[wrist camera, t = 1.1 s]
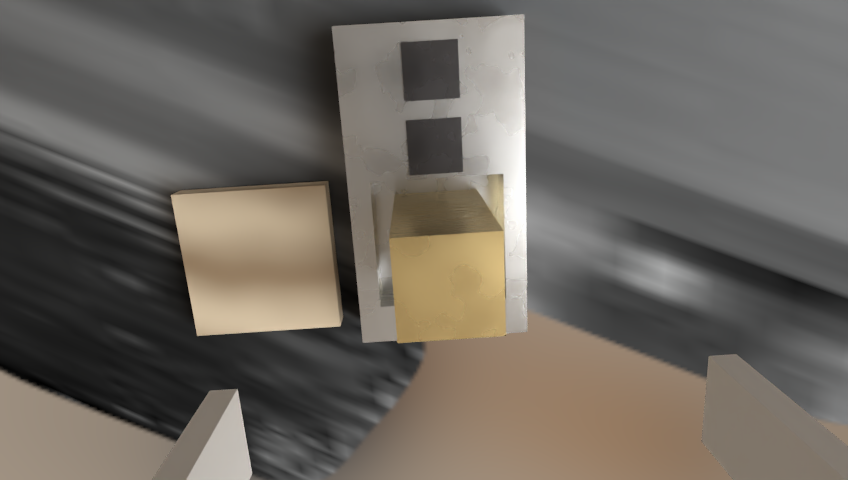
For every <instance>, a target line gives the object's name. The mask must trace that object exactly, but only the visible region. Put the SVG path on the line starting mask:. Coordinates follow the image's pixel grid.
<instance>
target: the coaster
mask: <svg viewBox="0 0 848 480" xmlns="http://www.w3.org/2000/svg"><path fill="white" fill-rule="evenodd" d="M171 199H172V204H173V210H174V215H175V220H176V225H177V231H178V236H179V241H180V247H181V252H182V257H183V263H184V268H185V273H186V279H187V284H188V289H189V295H190V300H191V305H192V311H193V316H194V321H195V327H196V332H197V336H202V335H217V334H232V333H247V332H262V331H277V330H292V329H307V328H322V327H338V326H341V322H342V319H343V311H342V302H341V293H340V283H339V274H338V265H337V256H336V246H335V237H334V228H333V219H332V209H331V200H330V191H329V182H328V181H319V182H303V183H287V184H272V185H256V186H241V187H225V188H209V189H194V190H181V191H178V192H176V193H174V194H172V195H171Z"/></svg>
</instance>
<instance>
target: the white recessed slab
mask: <svg viewBox="0 0 848 480" xmlns="http://www.w3.org/2000/svg"><path fill="white" fill-rule="evenodd" d="M332 35H333V45H334V55H335V65H336V75H337V85H338V96H339V106H340V116H341V126H342V136H343V146H344V156H345V166H346V176H347V186H348V196H349V207H350V217H351V227H352V237H353V247H354V257H355V267H356V277H357V287H358V297H359V307H360V318H361V328H362V338H363V343H365V342H380V341H395V340H397V331H396V319H395V307H394V294H393V282H392V269H391V257H390V244H389V235H390V227H391V219H392V211H393V204H394V196H395V194H407V193H423V192H438V191H454V190H469V189H477V190H478V192H479V193H480V195H481V197H482V198H483V200H484V201H485V203H486V204H487V206H488V207H489V209H490V210H491V212H492V213H493V215H494V217H495V218H496V220H497V221H498V223H499V224H500V226H501V227H502V229H503V230H504V265H505V311H506V333H515V332H527V253H526V154H525V56H524V14H523V15H506V16H490V17H474V18H458V19H442V20H425V21H409V22H393V23H377V24H360V25H344V26H332Z"/></svg>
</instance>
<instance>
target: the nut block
mask: <svg viewBox="0 0 848 480" xmlns="http://www.w3.org/2000/svg"><path fill="white" fill-rule="evenodd" d="M389 244H390V257H391V269H392V282H393V294H394V307H395V319H396V331H397V343H406V342H421V341H436V340H451V339H466V338H481V337H496V336H506V311H505V265H504V230H503V229H502V227H501V226H500V224H499V223H498V221H497V220H496V218H495V217H494V215H493V213H492V212H491V210H490V209H489V207H488V206H487V204H486V203H485V201H484V200H483V198H482V197H481V195H480V193H479V192H478V190H477V189H469V190H454V191H438V192H423V193H407V194H395V196H394V204H393V211H392V219H391V227H390V235H389Z"/></svg>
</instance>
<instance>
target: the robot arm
mask: <svg viewBox="0 0 848 480" xmlns="http://www.w3.org/2000/svg"><path fill="white" fill-rule="evenodd" d="M702 442H703V444H704V445H705V446H706V447H707V449H708V450H709V451H710V452H711V454H712V455H713V456H714V457H715V458H716V459H717V461H718V462H719V463H720V464H721V466H722V467H723V468H724V469H725V470H726V471H727V473H728V474H729V475H730V476H731V478H732V479H733V480H848V446H847V445H846V444H845V443H843V442H842V441H841V440H840V439H839V438H837V437H836V436H835V435H834V434H833V433H831V432H830V431H829V430H828V429H826V428H825V427H824V426H823V425H822V424H820V423H819V422H818V421H817V420H816V419H814V418H813V417H812V416H811V415H809V414H808V413H807V412H806V411H805V410H803V409H802V408H801V407H800V406H799V405H797V404H796V403H795V402H794V401H792V400H791V399H790V398H789V397H788V396H786V395H785V394H784V393H783V392H782V391H780V390H779V389H778V388H777V387H775V386H774V385H773V384H772V383H771V382H769V381H768V380H767V379H766V378H764V377H763V376H762V375H761V374H760V373H758V372H757V371H756V370H755V369H754V368H752V367H751V366H750V365H749V364H747V363H746V362H745V361H744V360H743V359H741V358H740V357H739V356H738V355H736V354H731V355H717V356H709V359H708V371H707V383H706V395H705V406H704V419H703V430H702ZM251 475H252V470H251V464H250V458H249V453H248V447H247V441H246V435H245V429H244V424H243V418H242V412H241V406H240V401H239V395H238V389H229V390H215V391H209V393H208V394H207V396H206V397H205V399H204V400H203V402H202V404H201V405H200V407H199V408H198V410H197V411H196V413H195V414H194V416H193V417H192V419H191V420H190V422H189V423H188V425H187V427H186V428H185V430H184V431H183V433H182V434H181V436H180V437H179V439H178V440H177V442H176V443H175V445H174V447H173V448H172V450H171V451H170V453H169V454H168V456H167V457H166V459H165V460H164V462H163V464H162V465H161V466H160V468H159V469H158V471H157V473H156V474H155V476H154V477H153V479H152V480H250V477H251Z"/></svg>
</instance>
